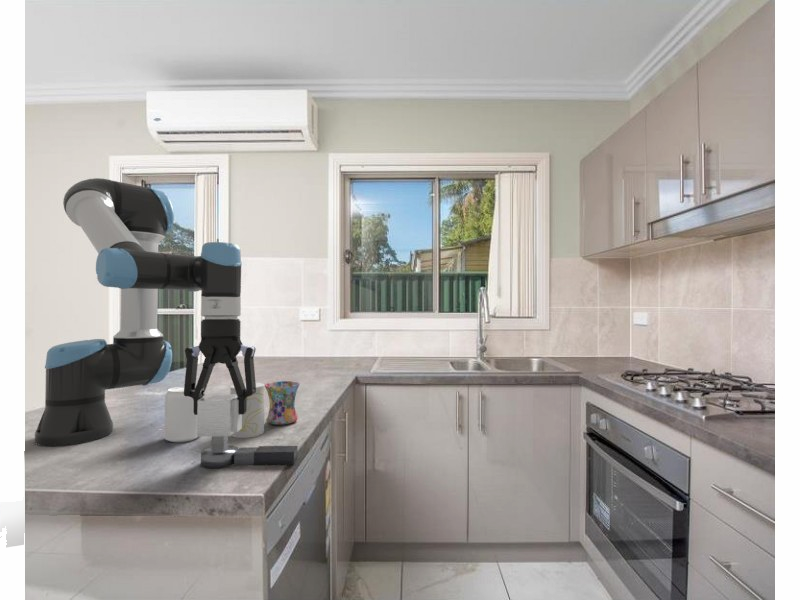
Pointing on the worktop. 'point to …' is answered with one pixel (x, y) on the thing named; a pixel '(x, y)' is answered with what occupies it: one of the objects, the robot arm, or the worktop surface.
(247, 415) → the cup
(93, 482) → the worktop surface
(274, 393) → the mug
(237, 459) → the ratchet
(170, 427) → the beverage can
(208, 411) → the brushed cube with inset
